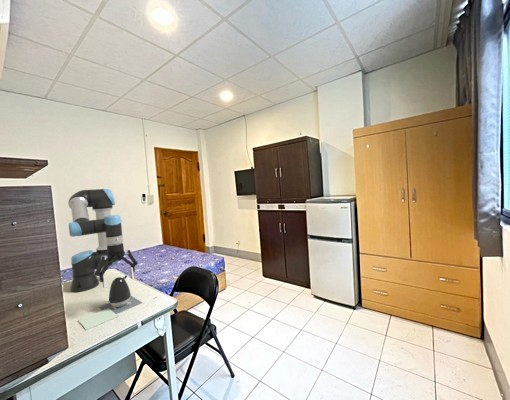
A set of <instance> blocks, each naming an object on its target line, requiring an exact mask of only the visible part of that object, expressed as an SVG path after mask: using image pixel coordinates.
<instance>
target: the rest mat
mask: <svg viewBox="0 0 510 400" xmlns="http://www.w3.org/2000/svg"><path fill="white" fill-rule="evenodd" d="M118 317H119V316H118V314H115V313H114V312H113V311H111V310H110V309H109V308H108V309H105V310H100V311H98V312H96V313H93V314H90V315H88V316H85V317H82V318H80V319H78V320H77V321H78V322H79V324H81V326H82V327H83V328H84V329H85V330H86V331H88V330H90V329H92V328H95V327H98V326H99V325H103V324H105V323H106V322H109V321H111V320H113V319H115V318H118Z"/></svg>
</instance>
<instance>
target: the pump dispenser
mask: <svg viewBox="0 0 510 400" xmlns="http://www.w3.org/2000/svg"><path fill="white" fill-rule="evenodd" d="M127 278H128V275H124V276H123V277H121V276H118V277H115V278H114V279H113V280H112V282H111V284H110V289H109V294H108V303H110V304H111V305H112V306H113V307H122V306H124V305H126V304H127V303H128V302H129V300H130V297H131V296H132V295H131V294H132V293H131V290H130V286H129V284H128V283H127V281H126V279H127Z"/></svg>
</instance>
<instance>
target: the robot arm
mask: <svg viewBox="0 0 510 400" xmlns="http://www.w3.org/2000/svg"><path fill="white" fill-rule="evenodd" d="M115 203H116V201H115V197H114V194H113V191H112V190H111V189H109V188H98V189H82V190H79V191H76V192H75V193H73V194H72V196H70V197H69V199H68V207H69V208H70V209H71V217H72V222H69V223H68V230H69V232H68V233H69V236H70V237H82V236H89V235H94V234H95V235H97V241H98V247H97V248H96V250H95V251H93V249H92V250H85V251H81V252H78V253H76V254H73V255H72V256H71V259H70V260H71V261H70V263H71V270H72V271H71V272H72V281H71V285H70V292H71V293H80V292H87V291H88V290H92V289H93V288H96V287H97V286H99V285H100V283H101V284H102V288H104V289H106V288H107V283H106V282H107V281H106V274H105V273H106V272H107V270H108V269H109V267H112V266H115V265H118V263H119V261H121V260H122V261H124V262H125V263H127V264H128V265H129V278H130V279H131V280H134V279H135V278H134V273H135V272H136V269H135V268H136V266H137V265H138V261H137V260H136V259H135V257H134V256H133V254H132V252H131V250H130V249H126V250H125V248H124V243H123V242H124V239H123V231H122V230H123V229H122V228H123V227H122V218H121V215H119V214H112V213H111V210H112V209H113V206H116V204H115ZM88 208H92V211H94V212H95V219H91V220H90V215H89V212H88ZM125 254H126V255H127V257H128V258H129V259H130V260H131V261H130V260H129V259H127V257H125ZM98 277H99V278H98Z"/></svg>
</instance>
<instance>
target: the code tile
mask: <svg viewBox="0 0 510 400" xmlns="http://www.w3.org/2000/svg"><path fill="white" fill-rule="evenodd" d="M141 304H143V301H141V300H139V299H137V298H136V297H134V296H133V295H131V297H130V300H129V302H128V303H127V304H126V305H124V306H122V307H113V306H112V305H111V304H110V302H108V303H106V304H104V305H100V306H98V308H99V309H100V311H103V310H105V309H108V308H109V309H110V310H111V311H113V312H114V313H115V314H116V315H118V314H120V313H123V312H125V311H127V310H129V309H131V308H133V307H136V306H139V305H141Z"/></svg>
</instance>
